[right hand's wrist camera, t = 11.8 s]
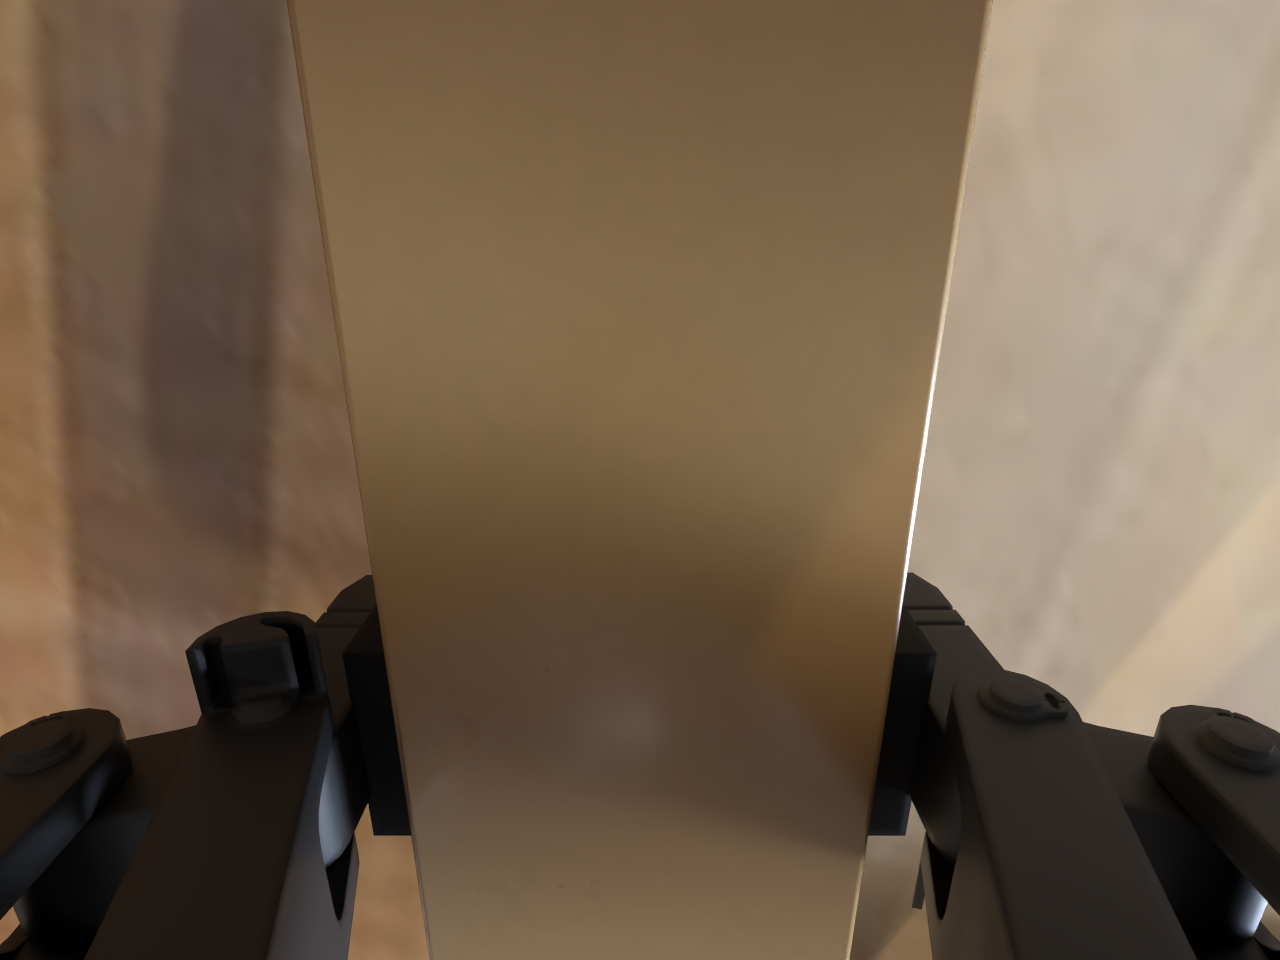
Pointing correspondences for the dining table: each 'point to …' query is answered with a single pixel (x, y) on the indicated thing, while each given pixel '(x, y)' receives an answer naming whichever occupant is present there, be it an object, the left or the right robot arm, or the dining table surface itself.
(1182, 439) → the dining table surface
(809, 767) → the board
